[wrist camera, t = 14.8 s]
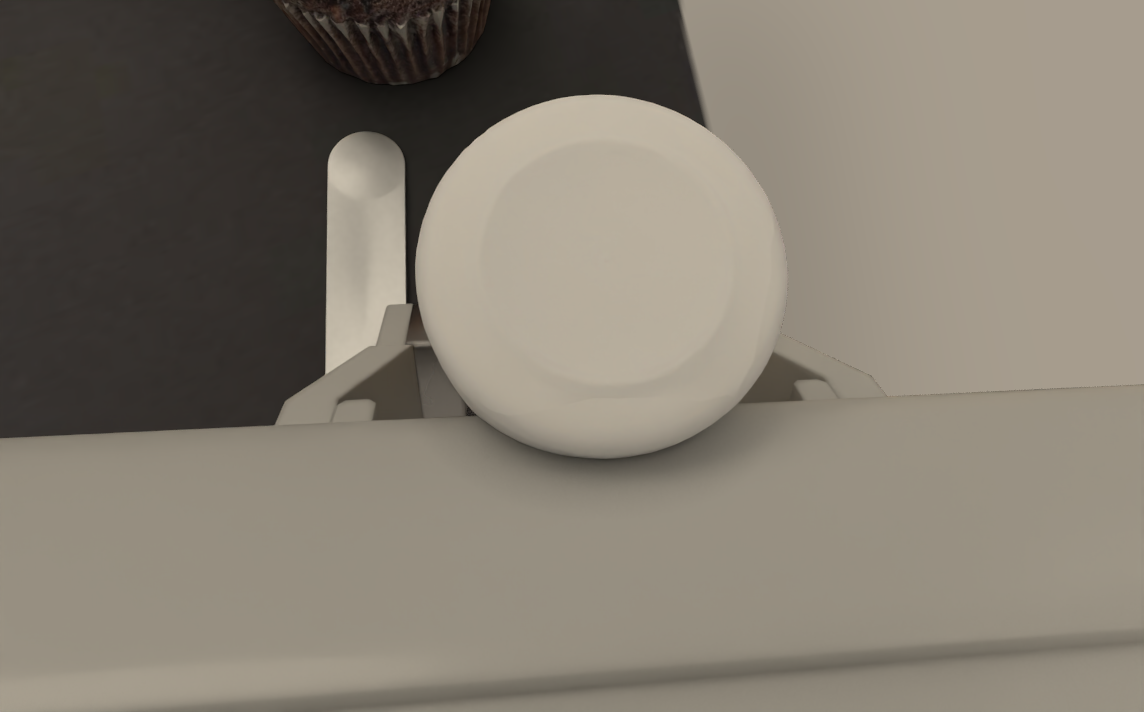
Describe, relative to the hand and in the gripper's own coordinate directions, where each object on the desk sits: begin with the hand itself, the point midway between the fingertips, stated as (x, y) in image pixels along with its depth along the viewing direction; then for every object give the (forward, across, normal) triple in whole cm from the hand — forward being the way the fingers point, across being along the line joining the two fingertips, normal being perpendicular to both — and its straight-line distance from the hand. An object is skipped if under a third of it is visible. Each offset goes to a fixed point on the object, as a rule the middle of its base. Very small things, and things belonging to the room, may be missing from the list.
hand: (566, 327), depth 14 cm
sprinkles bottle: (+5, 0, +6) cm, 7 cm away
